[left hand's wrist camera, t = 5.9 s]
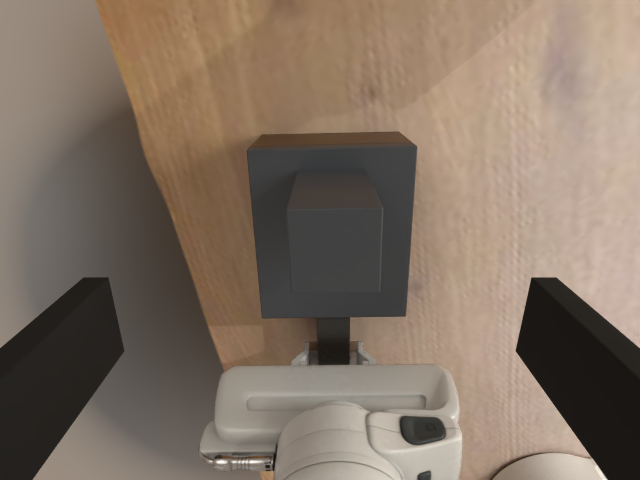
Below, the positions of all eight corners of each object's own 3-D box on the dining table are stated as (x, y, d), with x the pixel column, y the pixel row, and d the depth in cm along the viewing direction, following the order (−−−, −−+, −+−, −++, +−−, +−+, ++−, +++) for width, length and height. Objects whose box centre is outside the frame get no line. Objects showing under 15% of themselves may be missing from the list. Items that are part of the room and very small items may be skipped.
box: (261, 134, 36) (250, 146, 30) (399, 131, 35) (413, 142, 30) (278, 357, 45) (272, 397, 39) (388, 356, 45) (397, 396, 39)
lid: (254, 141, 32) (214, 181, 20) (408, 138, 32) (455, 177, 20) (267, 297, 37) (241, 398, 26) (399, 295, 37) (432, 396, 25)
